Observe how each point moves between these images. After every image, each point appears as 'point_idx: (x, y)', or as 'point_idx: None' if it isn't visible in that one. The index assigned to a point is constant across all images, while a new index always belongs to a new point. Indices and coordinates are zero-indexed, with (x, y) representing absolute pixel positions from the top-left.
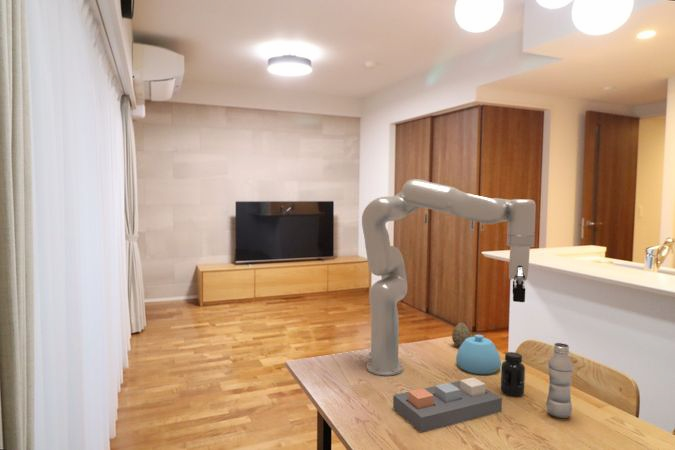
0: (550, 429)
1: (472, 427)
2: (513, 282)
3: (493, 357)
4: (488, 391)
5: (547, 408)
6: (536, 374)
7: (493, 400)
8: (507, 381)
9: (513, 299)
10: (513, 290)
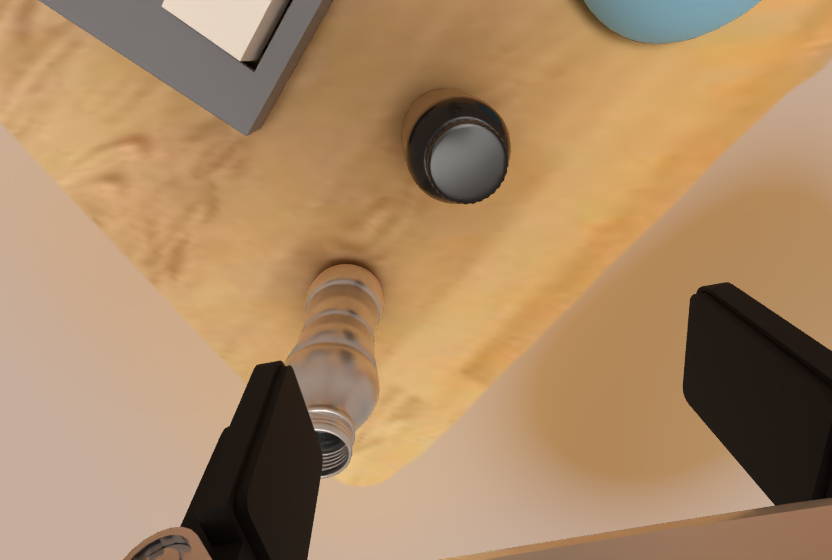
0: (242, 279)
1: (73, 58)
2: (826, 395)
3: (640, 11)
4: (271, 71)
5: (326, 270)
6: (658, 188)
7: (206, 109)
8: (405, 128)
9: (255, 378)
10: (211, 472)
